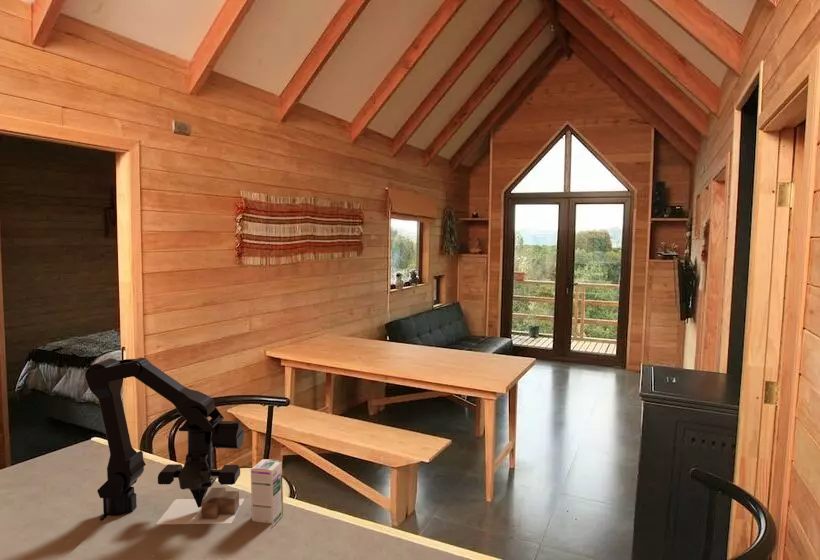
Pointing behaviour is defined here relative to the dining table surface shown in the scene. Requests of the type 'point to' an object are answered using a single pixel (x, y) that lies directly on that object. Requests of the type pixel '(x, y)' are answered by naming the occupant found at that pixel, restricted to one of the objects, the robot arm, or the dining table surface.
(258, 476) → the syrup box
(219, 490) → the walnut T block
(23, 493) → the dining table surface
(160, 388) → the robot arm
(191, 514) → the board
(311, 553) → the dining table surface
